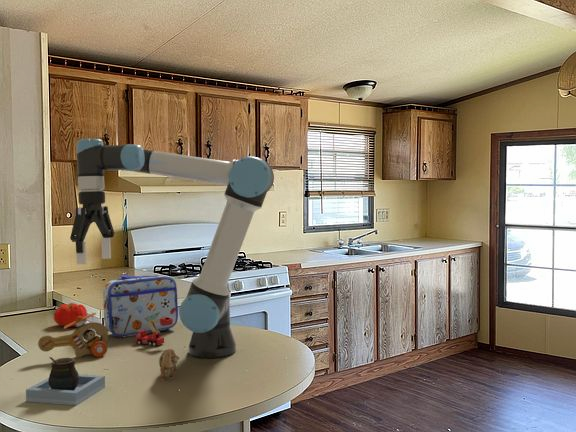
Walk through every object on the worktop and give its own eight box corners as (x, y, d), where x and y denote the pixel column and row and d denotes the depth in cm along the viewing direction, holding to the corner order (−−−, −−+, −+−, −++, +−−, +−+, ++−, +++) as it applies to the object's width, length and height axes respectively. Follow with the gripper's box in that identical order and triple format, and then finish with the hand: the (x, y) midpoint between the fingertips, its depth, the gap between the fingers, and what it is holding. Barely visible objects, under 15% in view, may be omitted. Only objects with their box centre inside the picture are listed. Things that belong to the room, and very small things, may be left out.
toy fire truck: (140, 341, 194) (139, 314, 194) (173, 345, 189) (173, 316, 189) (134, 344, 191) (133, 316, 191) (167, 347, 186) (167, 319, 185)
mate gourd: (85, 387, 145) (84, 349, 144) (65, 398, 138) (64, 358, 137) (62, 385, 147) (61, 347, 147) (41, 395, 140) (40, 356, 139)
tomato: (49, 325, 219) (48, 304, 219) (80, 320, 228) (79, 300, 228) (61, 331, 210) (60, 309, 210) (93, 325, 219) (92, 304, 218)
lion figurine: (180, 383, 151) (179, 350, 150) (160, 385, 149) (159, 352, 149) (176, 366, 165) (175, 337, 164) (157, 368, 163) (157, 338, 163)
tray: (105, 387, 148) (104, 375, 148) (76, 405, 135) (76, 393, 135) (58, 383, 151) (58, 373, 151) (26, 401, 138) (25, 389, 138)
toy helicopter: (111, 355, 177) (110, 313, 177) (40, 366, 167) (39, 321, 166) (105, 349, 184) (103, 308, 184) (37, 360, 174) (35, 316, 173)
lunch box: (106, 341, 195) (104, 279, 194) (99, 335, 204) (97, 275, 203) (180, 330, 209) (179, 272, 209) (171, 324, 218) (169, 269, 217)
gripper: (102, 191, 180) (105, 256, 181) (54, 191, 155) (58, 266, 156) (123, 190, 178) (126, 256, 179) (79, 190, 154) (82, 266, 155)
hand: (94, 261), depth 168 cm, fingers open, 13 cm apart
